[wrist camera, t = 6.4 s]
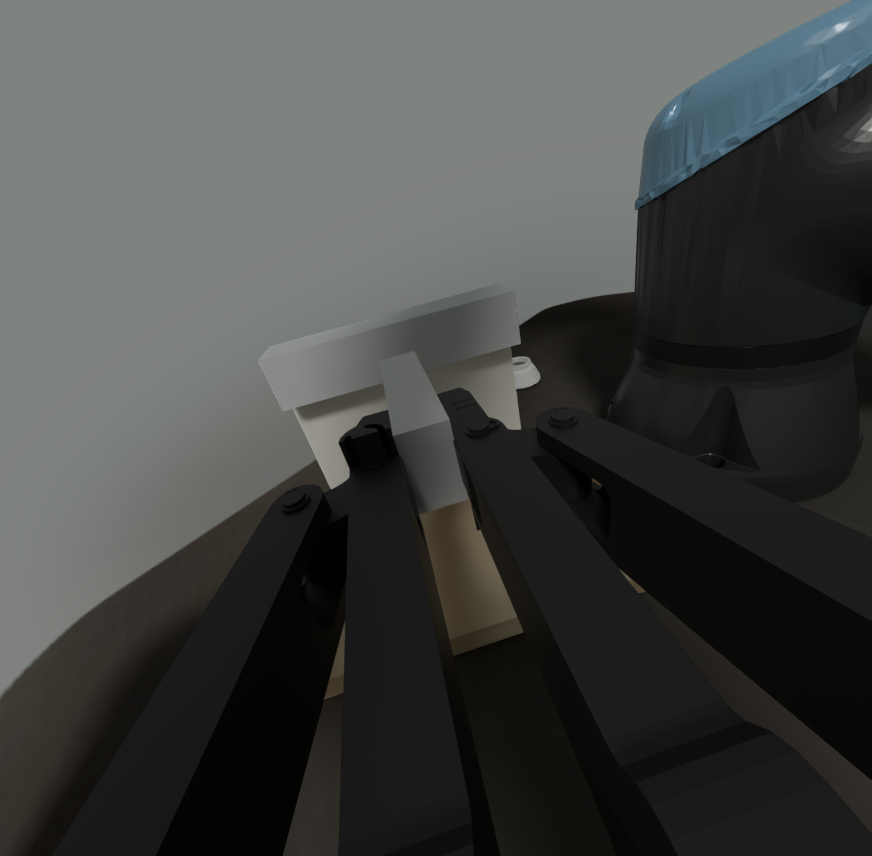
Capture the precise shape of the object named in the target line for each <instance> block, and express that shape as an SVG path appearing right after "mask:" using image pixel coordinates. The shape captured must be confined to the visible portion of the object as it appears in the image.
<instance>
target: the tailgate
mask: <svg viewBox="0 0 872 856" xmlns="http://www.w3.org/2000/svg"><path fill="white" fill-rule="evenodd" d="M517 314H518V313H517V304H516V296H515V290H513V289H510V288H506V287H504V286H500V285H497V284H495V285H492V286H488V287H485V288H481V289H477V290H474V291H470V292H466V293H462V294H459V295H455V296H451V297H448V298H444V299H440V300H437V301H433V302H430V303H426V304H423V305H419V306H415V307H412V308H408V309H404V310H400V311H397V312H393V313H389V314H386V315H382V316H378V317H375V318H371V319H368V320H364V321H361V322H357V323H353V324H349V325H346V326H342V327H339V328H335V329H331V330H328V331H324V332H320V333H317V334H313V335H309V336H305V337H302V338H298V339H295V340H291V341H288V342H284V343H280V344H276V345H273V346H270V347H269V348H268V350H267V351H266V352H265V353H264V354H263V356H262V357H261V358H260V359H259V360H258V362H259V364H260V366H261V368H262V370H263V372H264V374H265V376H266V378H267V380H268V382H269V385H270V387H271V389H272V391H273V393H274V395H275V397H276V399H277V401H278V403H279V405H280V407H281V409H282V411H287V410H290V409H293V410H294V412H295V414H296V417H297V419H298V421H299V423H300V425H301V427H302V429H303V431H304V433H305V435H306V438H307V440H308V442H309V444H310V446H311V448H312V450H313V452H314V455H315V457H316V459H317V461H318V463H319V465H320V467H321V469H322V471H323V474H324V476H325V478H326V480H327V482H328V484H329V486H330V488H331V489H333V488H335V487H337V486H338V485H340V484H342V483H343V482H345V481H346V480H347V479H348V478H349V471H350V469H349V467H348V465H347V462H346V460H345V458H344V455H343V453H342V450H341V448H340V446H339V443H338V442H339V440H340V438H341V437H342V436H343V435H344V434H345V433H346V432H347V431H349V430H350V429H352V428H354V427H356V426H357V424H358V423H359V421H360V420H361V418H362V417H364V416H367V415H371V414H374V413H377V412H381V411H384V410H388V407H387V401H386V396H385V390H384V385H383V379H382V374H381V369H380V363H379V361H380V360H384V359H387V358H391V357H394V356H398V355H401V354H405V353H408V352H412V351H414V352H415V354H416V356H417V358H418V359H419V361H420V363H421V365H422V367H423V369H424V371H425V373H426V375H427V377H428V379H429V381H430V383H431V385H432V387H433V388H434V390H435V392H436V394H439V393H442V392H446V391H449V390H452V389H456V388H459V387H460V388H462V389H465V390H468V391H470V393H471V394H472V396H473V397H474V399H475V400H476V401H477V402H478V404H479V405H480V406H481V408H482V409H483V410H484V412H485V413H486V414H487V416H488V417H491V418H495V419H498V420H500V421H501V422H502V423H503V424H504V425H505V426H506V427H507V429H512V430H519V429H521V425H520V417H519V409H518V401H517V393H516V385H515V377H514V369H513V361H512V353H511V346H514V345H518V344H521V341H520V331H519V322H518V315H517ZM466 492H467V491H466Z"/></svg>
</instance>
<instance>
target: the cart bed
mask: <svg viewBox="0 0 872 856" xmlns="http://www.w3.org/2000/svg"><path fill="white" fill-rule="evenodd" d="M592 481H593V482H595V483H596V484H598V485H600V486H602V485H601V484H600V483H599V482H597V481H596V480H594V479H593V478H592ZM419 516H420V519H421V522H422V525H423V529H424V533H425V537H426V541H427V546H428V550H429V554H430V558H431V563H432V567H433V571H434V575H435V580H436V584H437V588H438V592H439V597H440V601H441V605H442V609H443V614H444V618H445V622H446V626H447V631H448V635H449V639H450V643H451V648H452V652H453V656H455V655H458V654H461V653H464V652H467V651H470V650H473V649H476V648H479V647H482V646H485V645H488V644H491V643H494V642H497V641H500V640H503V639H506V638H509V637H512V636H514V635H517V634H520V633H523V629H522V627H521V625H520V622H519V620H518V618H517V615H516V613H515V610H514V608H513V606H512V603H511V601H510V599H509V596H508V594H507V591H506V589H505V587H504V584H503V582H502V580H501V577H500V575H499V573H498V570H497V568H496V565H495V563H494V561H493V558H492V556H491V554H490V551H489V549H488V547H487V544H486V542H485V539H484V537H483V535H482V532H481V530H478V531H477V528H476V524H475V520H474V515H473V511H472V507H471V502H470V498H469V496H468V500H465V501H462V502H458V503H455V504H452V505H449V506H445V507H442V508H439V509H436V510H433V511H429V512H426V513H423V514H420V515H419ZM619 570H620V569H619ZM620 571H621V570H620ZM621 572H622V571H621ZM622 573H623V575H624V576H625V577H626V578H627V580H628V581H629V582H630V583H631V585H632V586H633V587H634V589H635V590H636V591H637V592H638V594H639V593H642V592H645V590H644V589H643V588H641V587H640V586H639V585H638V584H637V583H636V582H634V581H633V580H632V579H631V578H630V577H628V576H627V575H626V574H625V573H624V572H622ZM344 648H345V623H344V626H343V630H342V634H341V638H340V641H339V645H338V649H337V653H336V656H335V660H334V664H333V668H332V671H331V675H330V679H329V683H328V687H327V690H326V694H325V698H324V699H327V698H330V697H333V696H336V695H339V694H342V693H343V683H344Z"/></svg>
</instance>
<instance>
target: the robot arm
mask: <svg viewBox="0 0 872 856" xmlns="http://www.w3.org/2000/svg"><path fill="white" fill-rule="evenodd" d="M637 209H638V225H637V247H636V271H635V295H634V319H633V339H632V351H631V354H630V357H629V359H628V362H627V365H626V367H625V370H624V372H623V375H622V377H621V380H620V383H619V385H618V388H617V391H616V394H615V397H614V398H613V399H612V401H611V403H610V405H609V407H608V410H607V414H606V420H604V419H602V418H600V417H597V416H595V415H593V414H591V413H588V412H586V411H584V410H581V409H577V408H571V407H560V408H558V407H557V408H553V409H550V410H547V411H545V412H543V413H542V414H540V415H539V416H538V417H537V419H536V420H535V421H536V428H530V429H519V430H512V429H507V427H506V426H505V425H504V424H503V423H502V422H501V421H500V420H498V419H495V418H491V417H488V416H487V414H486V413H485V412H484V410H483V409H482V408H481V406H480V405H479V404H478V402H477V401H476V400H475V399H474V397H473V396H472V394H471V393H470V391H468V390H465V389H462V388H460V387H459V388H456V389H452V390H449V391H446V392H442V393H439V394H436V392H435V390H434V388H433V387H432V385H431V383H430V381H429V379H428V377H427V375H426V373H425V371H424V369H423V367H422V365H421V363H420V361H419V359H418V358H417V356H416V354H415V352H414V351H412V352H408V353H405V354H401V355H398V356H394V357H391V358H387V359H384V360H380V361H379V363H380V369H381V374H382V379H383V385H384V390H385V396H386V401H387V407H388V410H384V411H381V412H377V413H374V414H371V415H367V416H364V417H362V418H361V420H360V421H359V423H358V424H357V426H356V427H354V428H352V429H350V430H349V431H347V432H346V433H345V434H344V435H343V436H342V437H341V438H340V440H339V442H338V443H339V446H340V448H341V450H342V453H343V455H344V458H345V460H346V462H347V465H348V467H349V469H350V471H349V478H348V479H347V480H346V481H345V482H343V483H342V484H340V485H338V486H337V487H335V488H333V489H331V490H329V491H327V492H325V493H323V491H322V489H321V488H320V487H319V486H317V485H303V486H299V487H295V488H293V489H291V490H289V491H287V492H285V493H284V494H283V495H282V496H280V497H279V498H278V499H276V501H275V502H274V503H273V504H272V505H271V506H270V508H269V510H268V511H267V513H266V514H265V516H264V518H263V519H262V521H261V522H260V524H259V526H258V527H257V529H256V530H255V532H254V534H253V535H252V537H251V538H250V540H249V542H248V543H247V545H246V546H245V548H244V550H243V551H242V553H241V554H240V556H239V557H238V559H237V561H236V562H235V564H234V565H233V567H232V569H231V570H230V572H229V573H228V575H227V577H226V578H225V580H224V581H223V583H222V585H221V586H220V588H219V589H218V591H217V593H216V594H215V596H214V597H213V599H212V601H211V602H210V604H209V605H208V607H207V609H206V610H205V612H204V613H203V615H202V617H201V618H200V620H199V621H198V623H197V624H196V626H195V628H194V629H193V631H192V632H191V634H190V636H189V637H188V639H187V640H186V642H185V644H184V645H183V647H182V648H181V650H180V652H179V653H178V655H177V656H176V658H175V660H174V661H173V663H172V664H171V666H170V668H169V669H168V671H167V672H166V674H165V676H164V677H163V679H162V680H161V682H160V683H159V685H158V687H157V688H156V690H155V691H154V693H153V695H152V696H151V698H150V699H149V701H148V703H147V704H146V706H145V707H144V709H143V711H142V712H141V714H140V715H139V717H138V719H137V720H136V722H135V723H134V725H133V727H132V728H131V730H130V731H129V733H128V735H127V736H126V738H125V739H124V741H123V742H122V744H121V746H120V747H119V749H118V750H117V752H116V754H115V755H114V757H113V758H112V760H111V762H110V763H109V765H108V766H107V768H106V770H105V771H104V773H103V774H102V776H101V778H100V779H99V781H98V782H97V784H96V786H95V787H94V789H93V790H92V792H91V794H90V795H89V797H88V798H87V800H86V801H85V803H84V805H83V806H82V808H81V809H80V811H79V813H78V814H77V816H76V817H75V819H74V821H73V822H72V824H71V825H70V827H69V829H68V830H67V832H66V833H65V835H64V837H63V838H62V840H61V841H60V843H59V845H58V846H57V848H56V849H55V851H54V853H53V854H52V856H283V852H284V848H285V845H286V841H287V837H288V833H289V830H290V826H291V822H292V818H293V814H294V811H295V807H296V803H297V799H298V796H299V792H300V788H301V784H302V781H303V777H304V773H305V769H306V766H307V762H308V758H309V754H310V751H311V747H312V743H313V739H314V735H315V732H316V728H317V724H318V720H319V717H320V713H321V709H322V705H323V702H324V698H325V694H326V690H327V687H328V683H329V679H330V675H331V671H332V668H333V664H334V660H335V656H336V653H337V649H338V645H339V641H340V638H341V634H342V630H343V626H344V623H345V648H344V683H343V719H342V754H341V790H340V825H339V846H338V856H500V852H499V848H498V843H497V839H496V835H495V831H494V826H493V822H492V818H491V814H490V809H489V805H488V801H487V797H486V792H485V788H484V784H483V780H482V775H481V771H480V767H479V763H478V758H477V754H476V750H475V746H474V741H473V737H472V733H471V728H470V724H469V720H468V716H467V711H466V707H465V703H464V699H463V694H462V690H461V686H460V682H459V677H458V673H457V669H456V665H455V660H454V656H453V652H452V648H451V643H450V639H449V635H448V631H447V626H446V622H445V618H444V614H443V609H442V605H441V601H440V597H439V592H438V588H437V584H436V580H435V575H434V571H433V567H432V563H431V558H430V554H429V550H428V546H427V541H426V537H425V533H424V529H423V525H422V522H421V519H420V516H419V515H420V514H423V513H426V512H429V511H433V510H436V509H439V508H442V507H445V506H449V505H452V504H455V503H458V502H462V501H465V500H468V496H467V493H468V495H469V498H470V502H471V507H472V511H473V515H474V520H475V524H476V528H477V531H478V530H481V532H482V535H483V537H484V539H485V542H486V544H487V547H488V549H489V551H490V554H491V556H492V558H493V561H494V563H495V565H496V568H497V570H498V573H499V575H500V577H501V580H502V582H503V584H504V587H505V589H506V591H507V594H508V596H509V599H510V601H511V603H512V606H513V608H514V610H515V613H516V615H517V618H518V620H519V622H520V625H521V627H522V629H523V632H524V634H525V636H526V639H527V641H528V644H529V646H530V648H531V651H532V653H533V655H534V658H535V660H536V662H537V665H538V667H539V670H540V672H541V674H542V677H543V679H544V681H545V684H546V686H547V688H548V691H549V693H550V696H551V698H552V700H553V703H554V705H555V707H556V710H557V712H558V715H559V717H560V719H561V722H562V724H563V726H564V729H565V731H566V733H567V736H568V738H569V741H570V743H571V745H572V748H573V750H574V752H575V755H576V757H577V759H578V762H579V764H580V767H581V769H582V771H583V774H584V776H585V778H586V781H587V783H588V785H589V788H590V790H591V793H592V795H593V797H594V800H595V802H596V804H597V807H598V809H599V811H600V814H601V816H602V819H603V821H604V823H605V826H606V828H607V831H608V833H609V836H610V839H611V841H612V844H613V847H614V850H615V853H616V856H872V834H871V832H870V831H869V830H868V829H867V828H866V827H865V825H864V824H863V823H862V822H861V821H860V820H859V819H858V817H857V816H856V815H855V814H854V813H853V812H852V810H851V809H850V808H849V807H848V806H847V805H846V803H845V802H844V801H843V800H842V799H841V798H840V797H839V795H838V794H837V793H836V792H835V791H834V790H833V788H832V787H831V786H830V785H829V784H828V783H827V782H826V781H825V780H824V778H823V777H822V776H821V775H820V774H819V773H818V772H817V771H816V770H815V769H814V768H813V767H812V766H811V765H810V764H809V763H808V762H807V761H806V760H805V759H804V758H803V757H802V756H801V755H800V754H799V753H798V752H797V751H796V750H795V749H794V748H792V747H791V746H790V745H789V744H787V743H786V742H785V741H783V740H782V739H781V738H780V737H778V736H777V735H776V734H774V733H773V732H771V731H769V730H766V729H764V728H761V727H759V726H757V725H754V724H752V723H749V722H747V721H745V720H744V719H742V718H741V717H740V716H739V715H737V714H736V713H735V712H734V711H733V710H732V709H731V708H730V707H729V706H728V705H727V704H726V702H725V701H724V700H723V699H722V698H721V697H720V696H719V694H718V693H717V692H716V690H715V689H714V688H713V687H712V685H711V684H710V683H709V682H708V680H707V679H706V678H705V677H704V675H703V674H702V673H701V672H700V670H699V669H698V668H697V667H696V665H695V664H694V663H693V662H692V660H691V659H690V658H689V657H688V655H687V654H686V653H685V651H684V650H683V649H682V648H681V646H680V645H679V644H678V643H677V641H676V640H675V639H674V638H673V636H672V635H671V634H670V633H669V631H668V630H667V629H666V628H665V626H664V625H663V624H662V623H661V621H660V620H659V619H658V617H657V616H656V615H655V614H654V612H653V611H652V610H651V609H650V607H649V606H648V605H647V604H646V602H645V601H644V600H643V599H642V597H641V596H640V595H639V594H638V592H637V591H636V590H635V589H634V587H633V586H632V585H631V583H630V582H629V581H628V580H627V578H626V577H625V576H624V575H623V573H622V572H624V573H625V574H626V575H627V576H628V577H630V578H631V579H632V580H633V581H634V582H636V583H637V584H638V585H639V586H640V587H641V588H643V589H644V590H645V591H646V592H647V593H649V594H650V595H651V596H652V597H653V598H655V599H656V600H657V601H658V602H659V603H661V604H662V605H663V606H664V607H665V608H667V609H668V610H669V611H670V612H671V613H673V614H674V615H675V616H676V617H677V618H679V619H680V620H681V621H682V622H683V623H684V624H686V625H687V626H688V627H689V628H690V629H692V630H693V631H694V632H695V633H696V634H698V635H699V636H700V637H701V638H702V639H704V640H705V641H706V642H707V643H708V644H710V645H711V646H712V647H713V648H714V649H716V650H717V651H718V652H719V653H720V654H722V655H723V656H724V657H725V658H726V659H727V660H729V661H730V662H731V663H732V664H733V665H735V666H736V667H737V668H738V669H739V670H741V671H742V672H743V673H744V674H745V675H747V676H748V677H749V678H750V679H751V680H753V681H754V682H755V683H756V684H757V685H759V686H760V687H761V688H762V689H763V690H765V691H766V692H767V693H768V694H769V695H770V696H772V697H773V698H774V699H775V700H776V701H778V702H779V703H780V704H781V705H782V706H784V707H785V708H786V709H787V710H788V711H790V712H791V713H792V714H793V715H794V716H796V717H797V718H798V719H799V720H800V721H802V722H803V723H804V724H805V725H806V726H808V727H809V728H810V729H811V730H812V731H813V732H815V733H816V734H817V735H818V736H819V737H821V738H822V739H823V740H824V741H825V742H827V743H828V744H829V745H830V746H831V747H833V748H834V749H835V750H836V751H837V752H839V753H840V754H841V755H842V756H843V757H845V758H846V759H847V760H848V761H849V762H851V763H852V764H853V765H854V766H855V767H856V768H858V769H859V770H860V771H861V772H862V773H864V774H865V775H866V776H867V777H868V778H870V779H871V780H872V538H871V537H869V536H867V535H865V534H862V533H860V532H858V531H856V530H853V529H851V528H849V527H846V526H844V525H842V524H840V523H837V522H835V521H833V520H831V519H828V518H826V517H824V516H822V515H819V514H817V513H815V512H813V511H810V510H808V509H806V508H803V507H801V506H799V505H797V504H794V503H795V502H801V501H805V500H809V499H813V498H816V497H819V496H822V495H824V494H826V493H828V492H831V491H832V490H834V489H836V488H837V487H839V486H840V485H841V484H842V483H843V482H844V481H845V480H846V479H847V478H848V476H849V475H850V472H851V470H852V468H853V466H854V463H855V461H856V458H857V456H858V454H859V451H860V449H861V446H862V441H863V431H862V427H861V425H860V423H859V406H858V396H857V387H856V379H855V372H854V365H853V350H854V347H855V344H856V341H857V338H858V335H859V332H860V329H861V327H862V324H863V321H864V318H865V317H866V315H867V313H868V311H869V309H870V307H871V305H872V0H852V1H850V2H848V3H846V4H843V5H841V6H840V7H837V8H835V9H833V10H831V11H829V12H827V13H825V14H823V15H821V16H819V17H817V18H815V19H813V20H811V21H809V22H807V23H804V24H802V25H800V26H799V27H796V28H794V29H792V30H790V31H789V32H786V33H785V34H783V35H781V36H779V37H777V38H775V39H773V40H771V41H770V42H767V43H765V44H764V45H762V46H760V47H758V48H756V49H754V50H752V51H750V52H748V53H746V54H745V55H743V56H741V57H739V58H737V59H735V60H734V61H732V62H730V63H728V64H727V65H725V66H723V67H721V68H720V69H718V70H716V71H714V72H713V73H711V74H709V75H708V76H706V77H704V78H703V79H701V80H700V81H698V82H697V83H695V84H693V85H692V86H690V87H689V88H687V89H686V90H685V91H683V92H682V93H680V94H679V95H678V96H676V97H675V98H674V99H673V100H671V101H670V102H669V103H668V104H667V105H666V106H665V107H664V108H663V109H662V110H661V112H660V113H659V114H658V115H657V116H656V118H655V119H654V121H653V122H652V124H651V126H650V128H649V130H648V133H647V135H646V139H645V143H644V150H643V159H642V169H641V178H640V188H639V197H638V199H637V200H636V201H635V210H637ZM592 478H593V479H594V480H596V481H597V482H599V483H600V484H601V485H602V486H600V485H598V484H596V483H595V482H593V481H592ZM466 491H467V492H466ZM619 569H620V570H621V571H622V572H621V571H620V570H619Z"/></svg>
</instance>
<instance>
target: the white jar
mask: <svg viewBox="0 0 872 856" xmlns="http://www.w3.org/2000/svg"><path fill="white" fill-rule="evenodd" d="M512 361H513V369H514V377H515V385H516V389H524V388H527V387H530V386H532V385H534V384H536V383H538V381H539V380H540V373H539V371H538V370H537V368H536V367H535V366H534V364H533V363H531V360H530V359H529V358H528V357H514V358H512Z"/></svg>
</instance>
